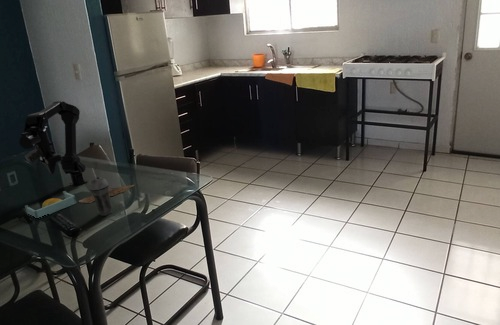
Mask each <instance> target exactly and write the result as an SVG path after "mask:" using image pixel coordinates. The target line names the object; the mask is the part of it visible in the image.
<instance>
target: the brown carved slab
mask: <svg viewBox="0 0 500 325" xmlns="http://www.w3.org/2000/svg"><path fill="white" fill-rule="evenodd" d="M134 186H135V184H132V185H131V184H130V185H125V186H119V187H113V188H109V196H110V197H113V196H117V195H119V194H123V193H125V192H127V191H128V190H129V189H131V188H132V187H134ZM93 202H95V199H94V196H93V194H91V195H89V196H86V197H84V198H82V199H80V200H78V202H77V203H79V204H80V203H81V204H91V203H93Z"/></svg>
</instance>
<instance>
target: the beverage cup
mask: <svg viewBox="0 0 500 325" xmlns="http://www.w3.org/2000/svg"><path fill="white" fill-rule="evenodd" d="M91 171H92V174H93V175H94V176H93V177H94V178H93V179H92V180H91V181H90V183H89V190H90V193H91V195H93V196H94V199H95V201H94V202H95V204H96V207H97V209H98V212H99V214H100V216H101V217H102V216H103V217H104V216H108V215H110V214H112V204H111V196H109V189H110V186H109V182H108V181H107V179H105V178H104V177H100V176H97V175H96V173H95V171H94V168H93V167H92V168H91Z"/></svg>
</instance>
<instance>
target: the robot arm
mask: <svg viewBox="0 0 500 325" xmlns="http://www.w3.org/2000/svg"><path fill="white" fill-rule="evenodd" d="M80 112H81V111H80V109H79V108H78V107H77V106H75V105H73V104H71V103H67V102H65V101H62V100H60V101H59V100H57V101H53V102H52V103H51V104H50V105H48V106H47V107H45V108H43V109H42V110H39V111H38V112H35V113H34V112H33V113H31V114H28V115H26V116H25V123H24V128H23V129H24V130H23V132H22V133H21V134H20V135H21V136H20V138H19V145H20V147H22V148H23V149H25V150H29V149H31V148H34V149H33V150H31V151H29V152H28V153H27V154H25V155H24V158H25V159H26V161H27V162H28V163H31V164H32V163H33V164H34V163H35V162H36V161H37V160H38V159H39V163H42V164H44V166H45V167H46V168H47V170H48V172H49V174H51V175H54V174H55V170H56V165H57V163H58V162H60V165H61V169H62V170H63V172H64V174H66V175H67V174H69V175H70V176H69V177H70V180H71V182H70V183H69V185H70V186H73V187H78V186H81V185H84V184H86V183H88V181H87V180H85V179H84V174H83V173H85V171H86V165H84V163H82V162H81V158H80V156H79V155H78V153H77V123H78V121H79V120H80ZM56 114H57V115H59V116H60V119H61V121H62V122H63V124H64V146H65V147H64V149H65V152H64V155H63V156H62V155H60V154H58V153H55V151H54V150H53V148H52V145H53V143H52V142H51V140H50V138H49V135H48V131H47V130H49V129H50V127H49V126H47V124H48V123H49V120H50V119H51V118H52V117H54V116H55V115H56Z"/></svg>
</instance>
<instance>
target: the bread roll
mask: <svg viewBox="0 0 500 325" xmlns="http://www.w3.org/2000/svg"><path fill="white" fill-rule="evenodd" d="M61 200H62V199H60V198H55V197H52V198H48V199H46V200H44V202H43V203H41V204H42V205H41V208H44V207H46V206H49V205H51V204H54V203H56V202H59V201H61Z"/></svg>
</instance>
